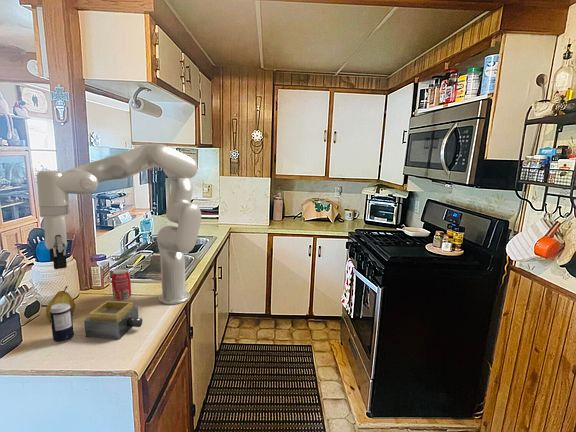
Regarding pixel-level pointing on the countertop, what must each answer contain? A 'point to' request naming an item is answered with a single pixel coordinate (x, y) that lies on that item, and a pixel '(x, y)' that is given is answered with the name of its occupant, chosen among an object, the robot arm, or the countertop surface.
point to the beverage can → (61, 322)
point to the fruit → (61, 301)
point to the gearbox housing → (112, 320)
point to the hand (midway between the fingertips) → (58, 264)
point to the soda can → (121, 284)
